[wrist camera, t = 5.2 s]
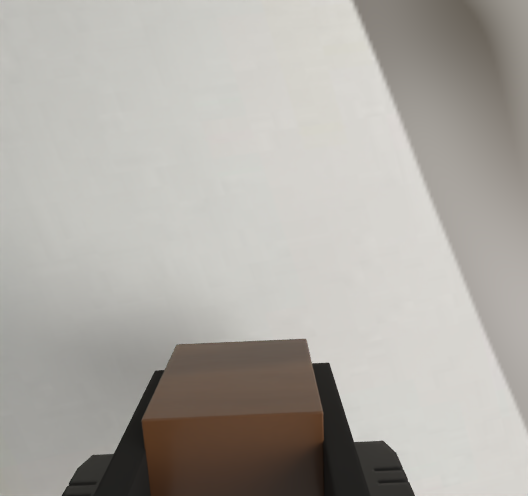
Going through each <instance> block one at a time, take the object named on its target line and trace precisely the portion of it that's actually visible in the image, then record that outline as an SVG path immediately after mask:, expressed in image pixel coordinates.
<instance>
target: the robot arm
mask: <svg viewBox="0 0 528 496" xmlns="http://www.w3.org/2000/svg"><path fill="white" fill-rule="evenodd" d="M312 366H313V370H314V375H315V379H316V383H317V388H318V392H319V396H320V401H321V405H322V409H323V421H324V442H323V457H324V496H415V495H414V492H413V490H412V488H411V486H410V483H409V482H408V479H407V477H406V474H405V472H404V470H403V468H402V465H401V463H400V461H399V458H398V456H397V454H396V452H395V451H393V450H392V449H391V448H390V447H389V446H388V445H387V444H386V443H385V442H384V441H371V442H354V441H353V438H352V435H351V431H350V428H349V425H348V422H347V419H346V415H345V412H344V409H343V406H342V403H341V399H340V396H339V393H338V390H337V387H336V383H335V380H334V377H333V374H332V371H331V367H330V364H329V363H313V364H312ZM163 373H164V370H159V371H155V372H154V374H153V376H152V378H151V380H150V382H149V384H148V386H147V388H146V390H145V392H144V394H143V396H142V398H141V400H140V402H139V404H138V406H137V408H136V410H135V412H134V414H133V416H132V419H131V421H130V423H129V425H128V427H127V429H126V431H125V433H124V435H123V437H122V439H121V441H120V443H119V445H118V447H117V449H116V451H115V453H114V454H105V455H92V456H91V457H90V458H89V459H88V460H87V461H85V462H84V463H83V464H82V465H81V466H80V467H79V468H78V469H77V470H76V472H75V474H74V476H73V477H72V479H71V481H70V482H69V486H67V487H66V489H65V491H64V493H63V494H62V496H151V493H150V484H149V475H148V467H147V458H146V449H145V448H144V439H143V430H142V422H141V420H142V418H143V416H144V414H145V411H146V409H147V407H148V405H149V403H150V401H151V399H152V396H153V394H154V392H155V390H156V388H157V386H158V383H159V381H160V379H161V377H162V375H163Z"/></svg>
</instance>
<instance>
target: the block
mask: <svg viewBox="0 0 528 496" xmlns="http://www.w3.org/2000/svg"><path fill="white" fill-rule="evenodd" d="M141 422H142V430H143V439H144V448H145V449H146V458H147V467H148V475H149V484H150V493H151V496H324V457H323V442H324V421H323V409H322V405H321V401H320V396H319V392H318V388H317V383H316V379H315V375H314V370H313V366H312V362H311V357H310V353H309V349H308V344H307V340H306V339H290V340H268V341H245V342H223V343H201V344H179V345H176V347H175V349H174V351H173V353H172V355H171V358H170V360H169V362H168V364H167V366H166V368H165V370H164V373H163V375H162V377H161V379H160V381H159V383H158V386H157V388H156V390H155V392H154V394H153V396H152V399H151V401H150V403H149V405H148V407H147V409H146V411H145V414H144V416H143V418H142V420H141Z"/></svg>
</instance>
